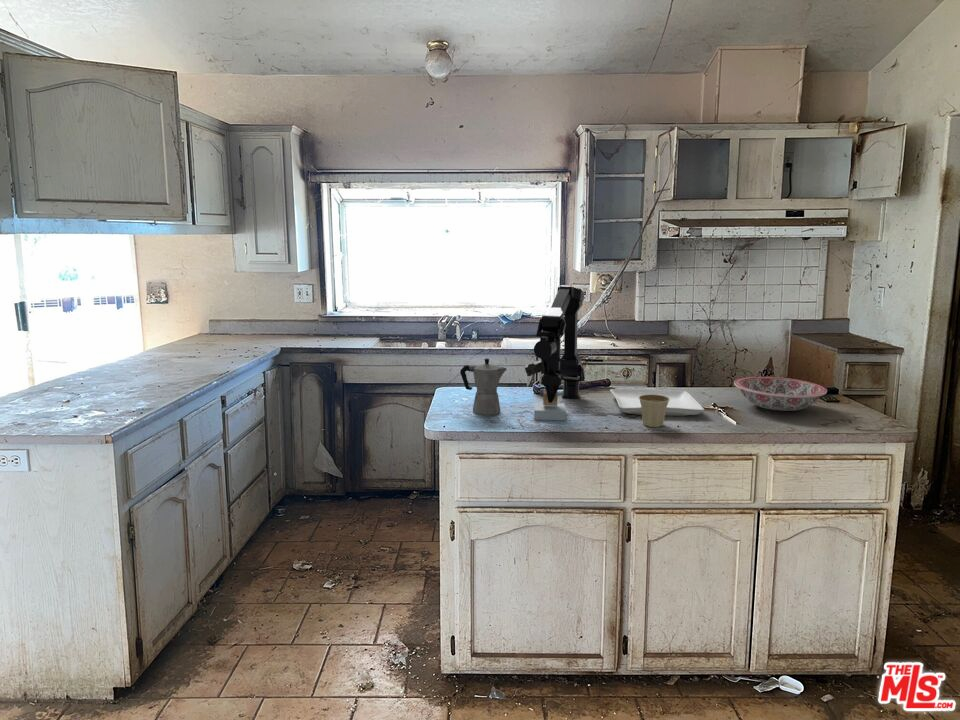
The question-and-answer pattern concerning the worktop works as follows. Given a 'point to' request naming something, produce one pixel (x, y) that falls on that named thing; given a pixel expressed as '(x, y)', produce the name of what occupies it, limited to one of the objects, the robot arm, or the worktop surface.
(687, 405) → the square plate
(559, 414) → the base slab
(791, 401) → the ceramic bowl
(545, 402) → the walnut block
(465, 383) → the coffeepot
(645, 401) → the flower pot
